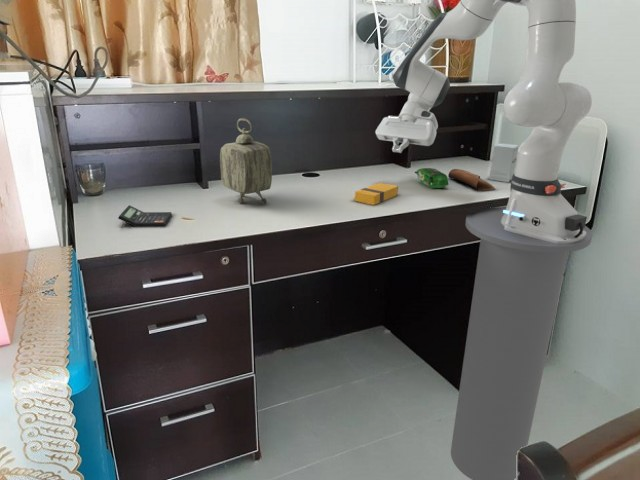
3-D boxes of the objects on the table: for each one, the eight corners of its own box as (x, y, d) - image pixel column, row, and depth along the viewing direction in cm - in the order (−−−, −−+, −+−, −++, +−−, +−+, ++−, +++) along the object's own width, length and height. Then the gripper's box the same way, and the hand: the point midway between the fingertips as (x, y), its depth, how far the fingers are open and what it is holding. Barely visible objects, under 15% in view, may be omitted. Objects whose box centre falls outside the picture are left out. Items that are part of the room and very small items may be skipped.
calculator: (164, 226, 132) (163, 215, 131) (119, 226, 131) (117, 215, 130) (171, 215, 141) (170, 204, 140) (128, 215, 140) (127, 205, 139)
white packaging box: (508, 182, 183) (514, 147, 178) (488, 179, 187) (493, 145, 182) (513, 178, 189) (519, 144, 184) (493, 175, 192) (498, 142, 188)
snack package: (431, 179, 186) (432, 165, 184) (450, 189, 172) (451, 174, 170) (413, 179, 185) (414, 165, 183) (430, 190, 170) (431, 175, 168)
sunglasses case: (497, 188, 173) (491, 172, 170) (481, 199, 172) (474, 183, 169) (466, 176, 189) (460, 161, 186) (452, 186, 188) (445, 171, 185)
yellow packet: (379, 182, 167) (354, 191, 156) (398, 186, 163) (374, 195, 152) (378, 191, 168) (354, 201, 157) (397, 195, 165) (374, 205, 153)
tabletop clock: (272, 203, 153) (271, 119, 144) (248, 209, 147) (245, 122, 138) (243, 194, 162) (240, 114, 153) (219, 199, 156) (215, 117, 147)
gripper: (382, 109, 172) (365, 141, 168) (438, 114, 160) (422, 149, 156) (388, 121, 177) (372, 153, 173) (442, 127, 165) (427, 161, 161)
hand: (396, 151), depth 164 cm, fingers closed
